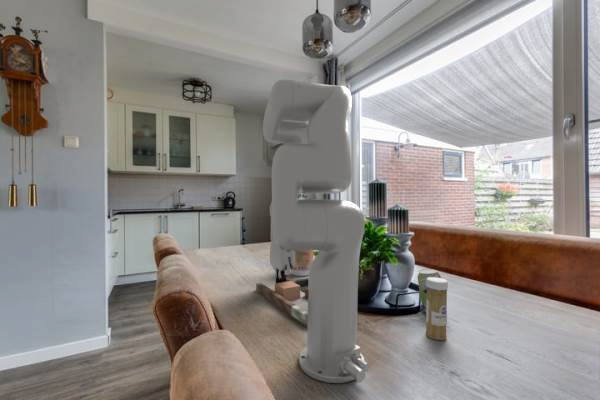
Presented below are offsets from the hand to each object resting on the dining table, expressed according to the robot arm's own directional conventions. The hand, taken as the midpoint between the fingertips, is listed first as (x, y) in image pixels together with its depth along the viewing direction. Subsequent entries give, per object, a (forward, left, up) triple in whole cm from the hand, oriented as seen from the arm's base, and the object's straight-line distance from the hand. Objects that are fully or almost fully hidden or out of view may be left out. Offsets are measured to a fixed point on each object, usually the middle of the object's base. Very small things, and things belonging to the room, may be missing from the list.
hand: (280, 288), depth 95 cm
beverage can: (-36, -29, -1) cm, 46 cm away
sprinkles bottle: (-45, -17, -1) cm, 48 cm away
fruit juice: (+17, -19, -1) cm, 25 cm away
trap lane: (-10, -4, -1) cm, 11 cm away
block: (-5, 0, -1) cm, 5 cm away
